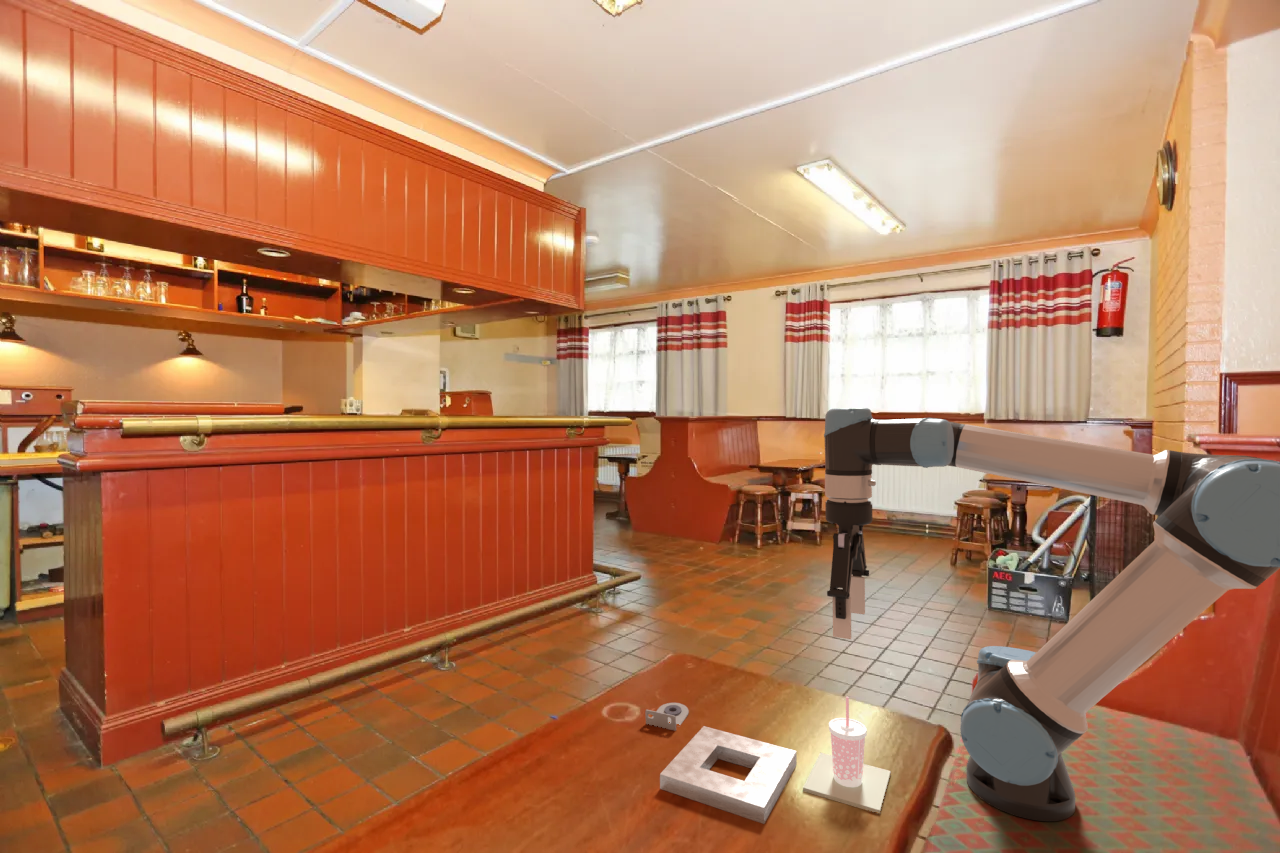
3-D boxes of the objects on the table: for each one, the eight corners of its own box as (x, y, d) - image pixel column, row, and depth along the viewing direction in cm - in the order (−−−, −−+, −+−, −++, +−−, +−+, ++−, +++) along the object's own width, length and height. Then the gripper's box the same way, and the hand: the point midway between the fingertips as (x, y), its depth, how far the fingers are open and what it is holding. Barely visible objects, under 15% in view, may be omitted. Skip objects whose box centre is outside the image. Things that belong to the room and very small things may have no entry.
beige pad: (890, 774, 105) (890, 771, 105) (879, 814, 94) (879, 810, 94) (820, 755, 111) (820, 752, 111) (802, 791, 100) (802, 787, 100)
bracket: (693, 710, 129) (692, 694, 129) (675, 733, 120) (675, 716, 120) (664, 704, 132) (664, 689, 132) (645, 726, 122) (645, 709, 122)
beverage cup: (849, 765, 106) (849, 686, 106) (875, 785, 101) (874, 701, 100) (821, 773, 104) (820, 692, 104) (845, 793, 98) (845, 708, 98)
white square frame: (796, 764, 108) (796, 750, 108) (764, 824, 92) (764, 807, 92) (703, 738, 117) (703, 726, 117) (660, 788, 101) (659, 773, 101)
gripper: (859, 510, 89) (861, 653, 90) (882, 492, 111) (883, 607, 111) (808, 507, 93) (809, 645, 93) (840, 490, 115) (841, 601, 115)
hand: (849, 624), depth 102 cm, fingers open, 13 cm apart
